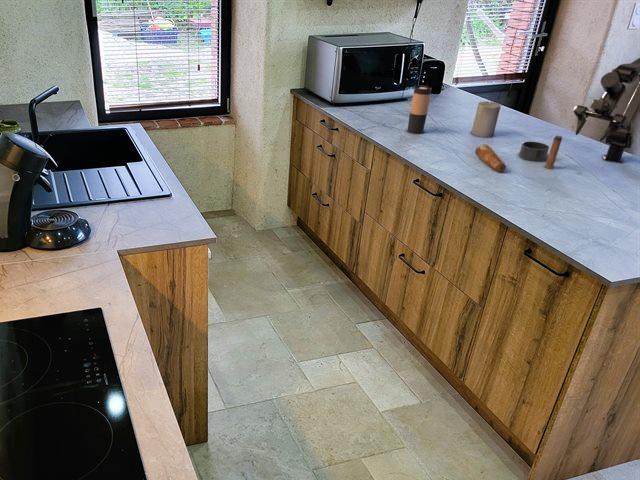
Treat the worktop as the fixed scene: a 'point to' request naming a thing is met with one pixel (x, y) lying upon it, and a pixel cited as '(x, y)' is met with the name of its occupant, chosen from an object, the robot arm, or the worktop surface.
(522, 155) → the bowl
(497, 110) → the pillar candle
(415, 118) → the travel mug
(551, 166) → the stick
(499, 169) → the bread
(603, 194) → the worktop surface
